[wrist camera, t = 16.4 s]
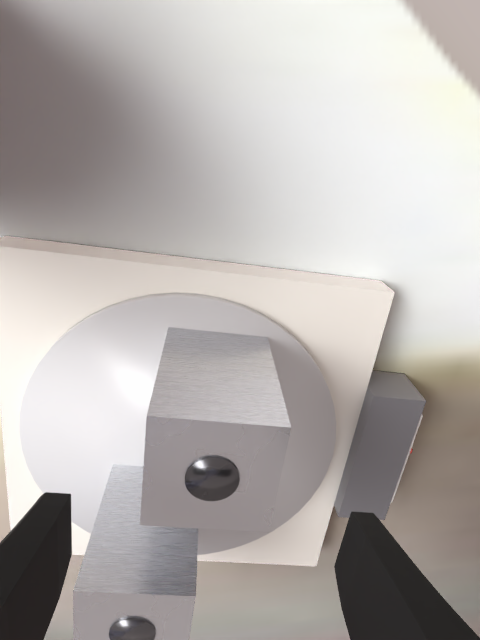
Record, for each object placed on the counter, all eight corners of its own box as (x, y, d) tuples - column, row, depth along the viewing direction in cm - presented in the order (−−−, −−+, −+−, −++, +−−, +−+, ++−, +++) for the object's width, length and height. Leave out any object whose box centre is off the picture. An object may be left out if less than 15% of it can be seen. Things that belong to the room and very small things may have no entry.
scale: (356, 543, 26) (369, 582, 23) (25, 525, 24) (5, 565, 22) (440, 287, 20) (469, 306, 17) (5, 235, 18) (-25, 249, 16)
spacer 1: (192, 533, 22) (184, 671, 16) (110, 529, 21) (73, 668, 16) (200, 470, 20) (195, 598, 15) (113, 464, 20) (72, 593, 14)
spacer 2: (253, 418, 19) (268, 534, 14) (161, 411, 19) (139, 527, 13) (267, 336, 18) (291, 429, 12) (168, 327, 17) (146, 417, 12)
